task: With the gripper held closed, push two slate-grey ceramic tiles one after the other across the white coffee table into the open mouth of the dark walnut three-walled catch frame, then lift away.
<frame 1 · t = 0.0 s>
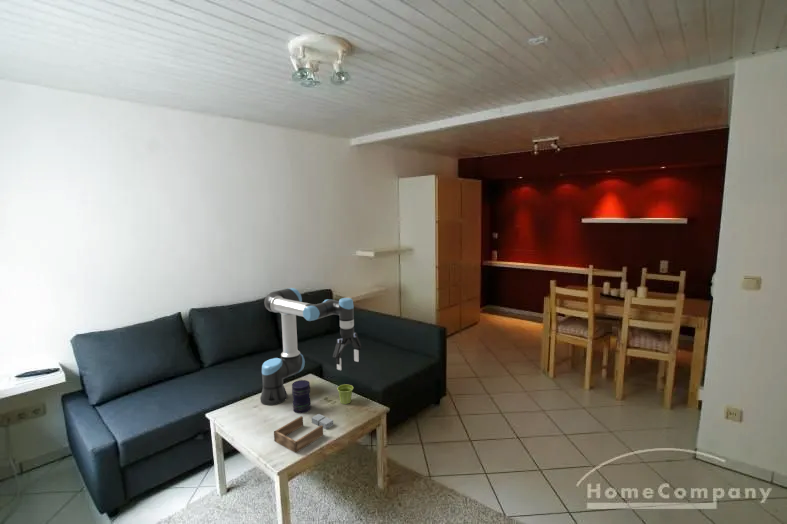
hand: (348, 365, 201), 28 cm above the table, fingers open, 13 cm apart
tile a: (318, 422, 197), on the table
catch frame: (299, 437, 184), on the table
plant pot: (345, 402, 218), on the table
storage jar: (302, 409, 211), on the table
tile b: (326, 426, 194), on the table
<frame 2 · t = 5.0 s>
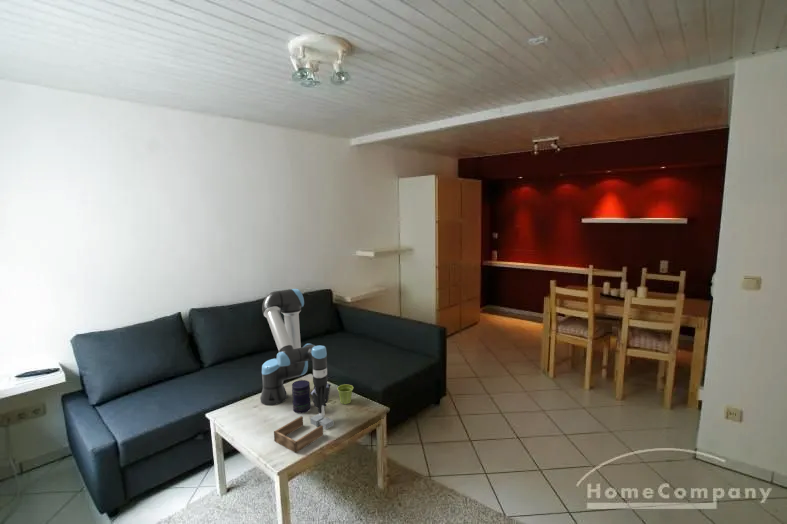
hand: (321, 417, 199), 1 cm above the table, fingers closed
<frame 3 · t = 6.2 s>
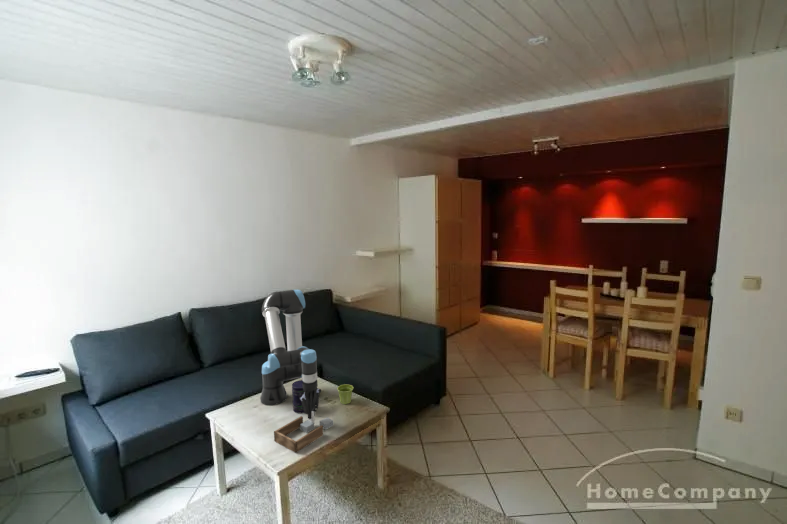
hand: (311, 423, 193), 1 cm above the table, fingers closed
tile a: (307, 429, 191), on the table, touching gripper
everything else where it was.
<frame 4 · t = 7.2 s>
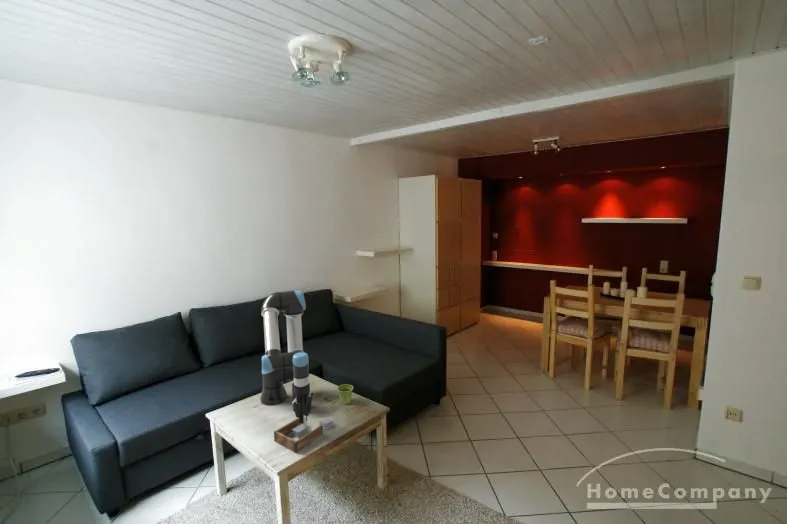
hand: (303, 428, 189), 1 cm above the table, fingers closed
tile a: (299, 434, 187), on the table, touching gripper
everything else where it was.
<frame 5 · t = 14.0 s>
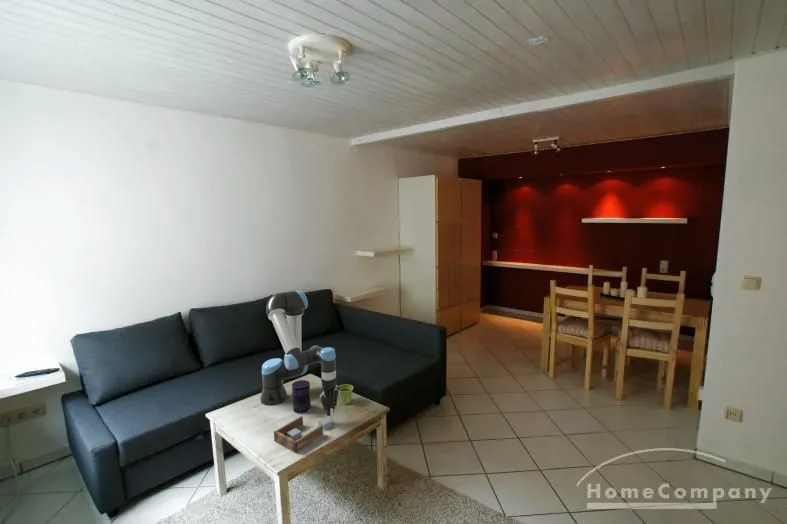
hand: (330, 420, 196), 1 cm above the table, fingers closed
tile a: (294, 437, 184), on the table
tile b: (325, 426, 193), on the table, touching gripper
everything else where it was.
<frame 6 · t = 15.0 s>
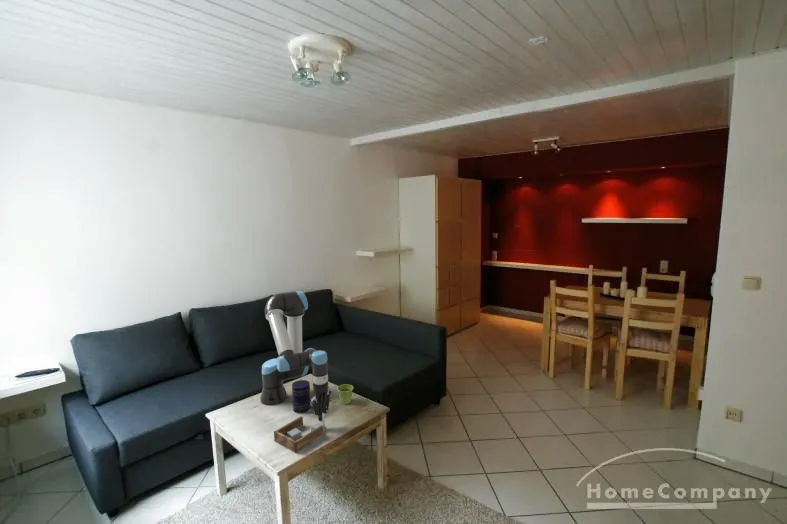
hand: (322, 425, 191), 1 cm above the table, fingers closed
tile b: (318, 431, 189), on the table, touching gripper
everything else where it was.
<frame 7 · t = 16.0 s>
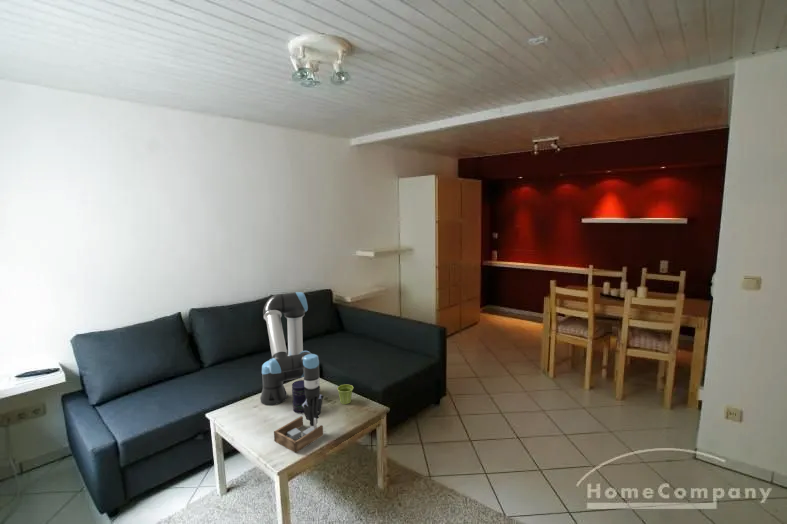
hand: (314, 430, 187), 1 cm above the table, fingers closed
tile b: (309, 436, 184), on the table, touching gripper
everything else where it was.
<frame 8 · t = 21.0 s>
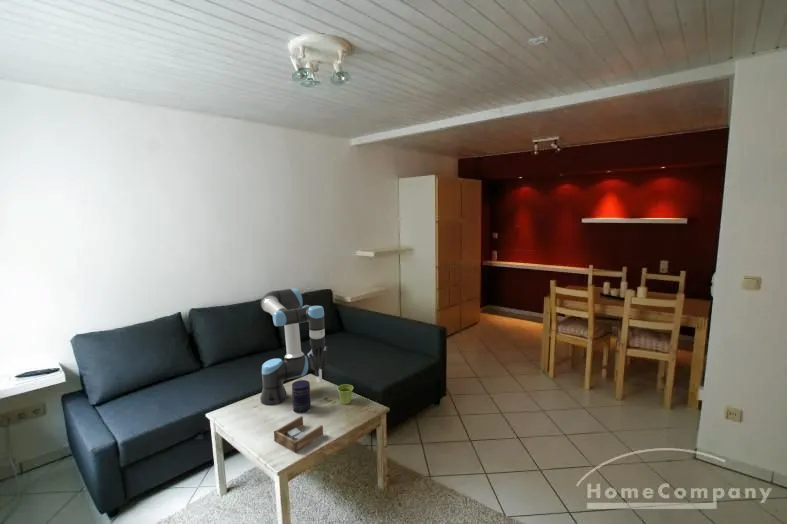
hand: (319, 381, 190), 24 cm above the table, fingers closed
tile b: (302, 441, 181), on the table
everything else where it was.
at the end: tile a inside the target area on the catch frame (3.0 cm from its centre), point 0.0 cm above the catch frame's base; tile b inside the target area on the catch frame (3.6 cm from its centre), point 0.0 cm above the catch frame's base; the gripper is holding nothing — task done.
